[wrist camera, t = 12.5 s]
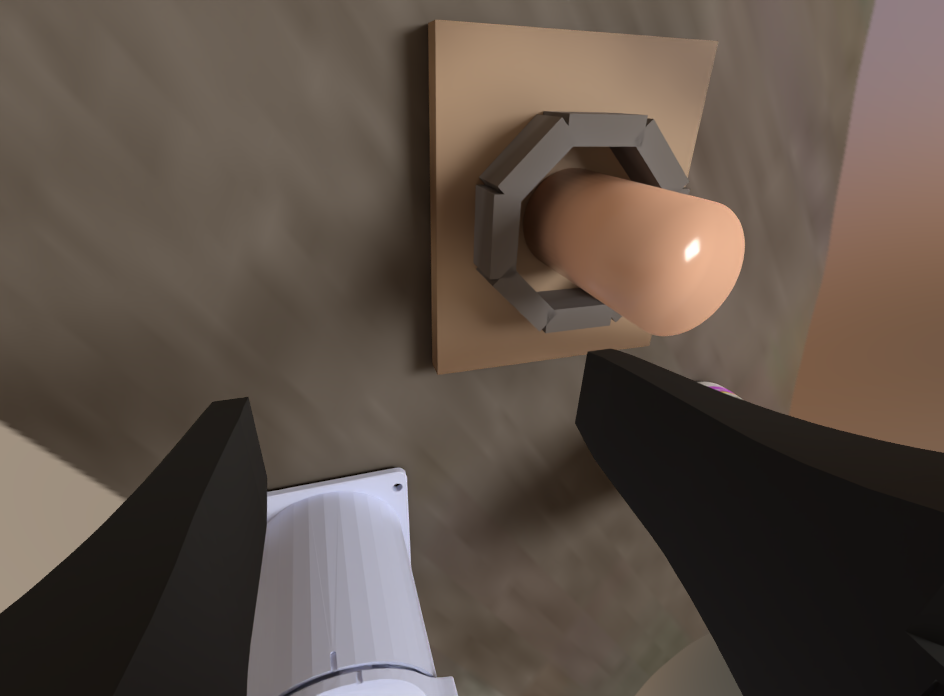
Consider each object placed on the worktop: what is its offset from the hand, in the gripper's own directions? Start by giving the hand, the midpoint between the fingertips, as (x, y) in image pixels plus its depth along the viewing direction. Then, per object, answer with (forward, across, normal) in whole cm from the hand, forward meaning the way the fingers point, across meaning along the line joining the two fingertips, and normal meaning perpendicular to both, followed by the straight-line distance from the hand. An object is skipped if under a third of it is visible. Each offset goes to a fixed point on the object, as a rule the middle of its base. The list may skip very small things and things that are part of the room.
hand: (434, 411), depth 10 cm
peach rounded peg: (+9, -8, -1) cm, 12 cm away
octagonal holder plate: (+10, -8, -1) cm, 13 cm away
